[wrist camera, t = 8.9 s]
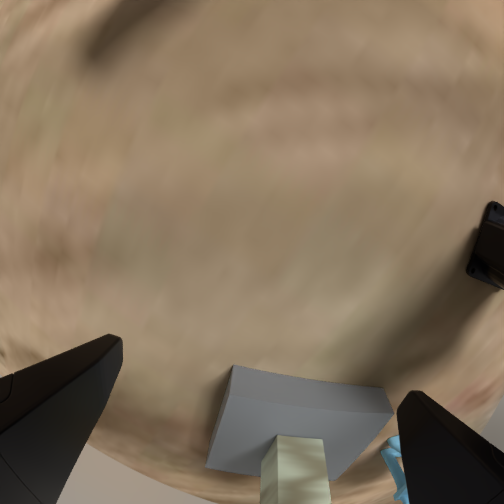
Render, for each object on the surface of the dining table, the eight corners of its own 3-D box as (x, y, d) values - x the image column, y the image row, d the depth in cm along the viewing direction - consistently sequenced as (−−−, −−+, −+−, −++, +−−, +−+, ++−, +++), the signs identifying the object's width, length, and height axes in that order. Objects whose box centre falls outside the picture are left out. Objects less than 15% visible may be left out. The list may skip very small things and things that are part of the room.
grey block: (381, 384, 24) (394, 413, 20) (330, 454, 27) (335, 480, 24) (234, 360, 23) (229, 394, 19) (210, 438, 27) (205, 467, 23)
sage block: (322, 439, 21) (333, 518, 13) (301, 465, 22) (306, 535, 15) (277, 434, 21) (278, 518, 13) (261, 462, 22) (258, 534, 15)
